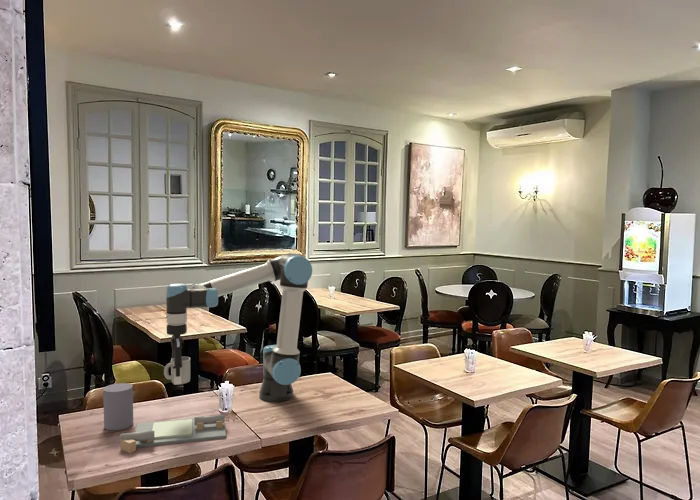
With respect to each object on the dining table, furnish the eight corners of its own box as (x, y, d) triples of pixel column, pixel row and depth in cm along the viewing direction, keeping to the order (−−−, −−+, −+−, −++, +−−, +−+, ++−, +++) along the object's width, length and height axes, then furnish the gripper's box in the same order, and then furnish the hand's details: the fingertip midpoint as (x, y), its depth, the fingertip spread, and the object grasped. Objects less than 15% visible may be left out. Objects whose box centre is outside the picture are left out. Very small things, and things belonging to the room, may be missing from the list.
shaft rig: (223, 417, 214) (223, 405, 213) (226, 442, 190) (226, 429, 190) (127, 426, 204) (127, 413, 204) (118, 454, 181) (118, 439, 180)
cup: (192, 382, 210) (192, 360, 209) (165, 386, 205) (165, 363, 204) (187, 377, 216) (187, 355, 215) (162, 381, 211) (162, 358, 210)
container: (103, 432, 198) (102, 393, 197) (104, 422, 208) (103, 385, 207) (133, 428, 202) (133, 389, 201) (133, 419, 212) (132, 381, 211)
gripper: (164, 319, 217) (165, 374, 218) (168, 329, 198) (168, 390, 200) (184, 318, 219) (184, 373, 221) (189, 328, 201) (189, 387, 202)
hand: (176, 381), depth 210 cm, fingers closed on cup, 7 cm apart
